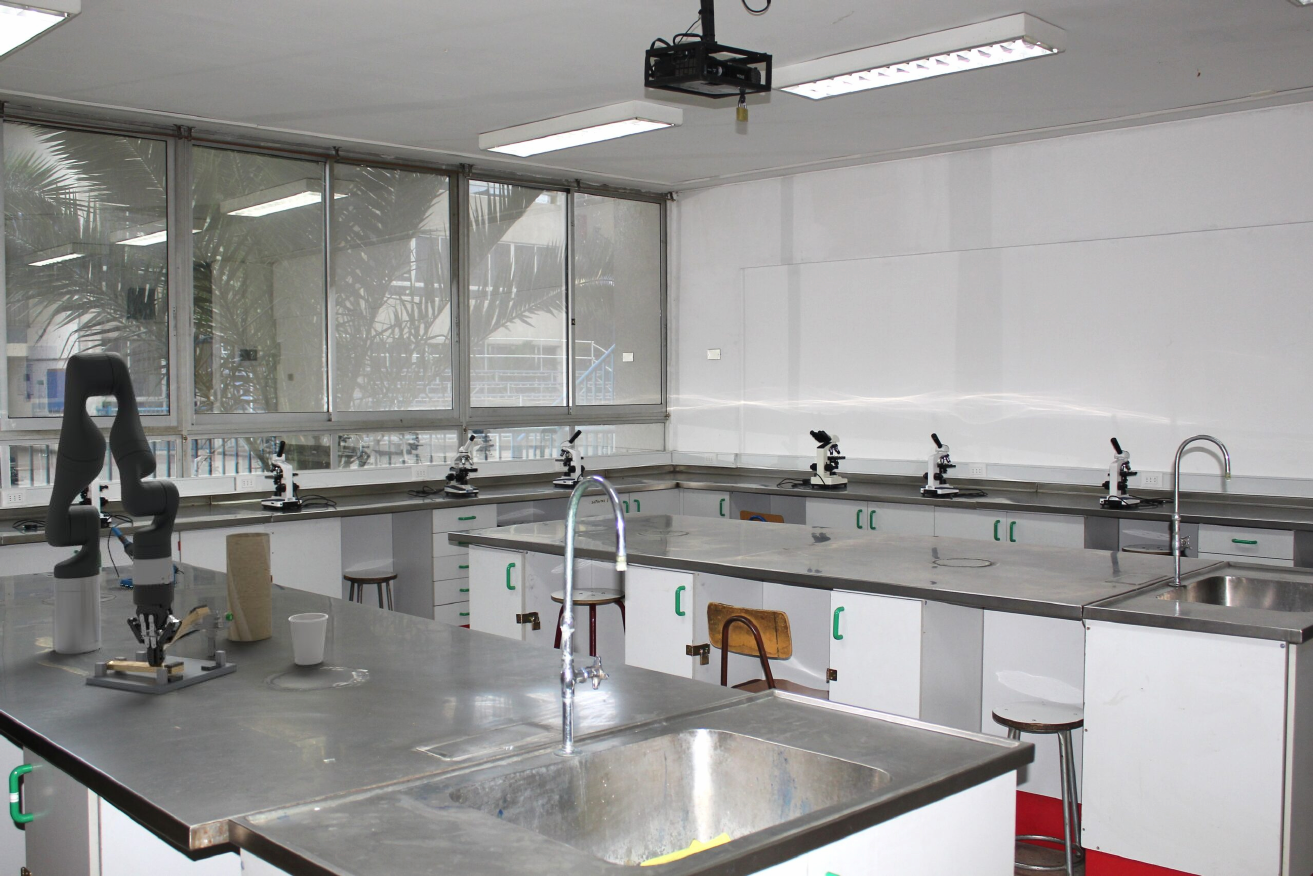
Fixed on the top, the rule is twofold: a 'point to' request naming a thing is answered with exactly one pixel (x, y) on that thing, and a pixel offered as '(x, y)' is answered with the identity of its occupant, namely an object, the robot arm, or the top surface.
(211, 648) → the mechanical component
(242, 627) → the tube
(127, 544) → the soldering iron
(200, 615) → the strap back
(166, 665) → the strap front
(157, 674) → the mount plate
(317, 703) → the top surface
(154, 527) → the robot arm
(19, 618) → the top surface
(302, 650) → the dixie cup
